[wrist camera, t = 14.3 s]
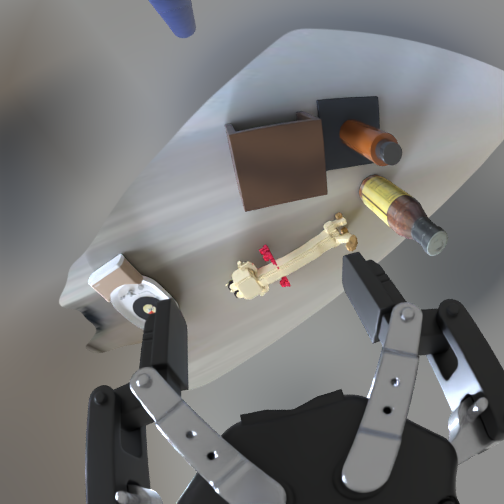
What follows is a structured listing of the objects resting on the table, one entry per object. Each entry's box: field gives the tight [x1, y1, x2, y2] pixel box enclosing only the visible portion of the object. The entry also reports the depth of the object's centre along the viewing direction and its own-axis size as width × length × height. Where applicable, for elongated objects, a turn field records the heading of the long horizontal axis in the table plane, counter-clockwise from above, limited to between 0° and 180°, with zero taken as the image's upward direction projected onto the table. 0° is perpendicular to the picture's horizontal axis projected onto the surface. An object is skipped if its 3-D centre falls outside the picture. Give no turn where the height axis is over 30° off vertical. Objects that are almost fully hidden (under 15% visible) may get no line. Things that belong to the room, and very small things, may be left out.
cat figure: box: [226, 212, 358, 300], centre depth 51 cm, size 10×9×25 cm
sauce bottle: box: [359, 175, 448, 256], centre depth 41 cm, size 6×6×20 cm
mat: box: [317, 96, 380, 171], centre depth 42 cm, size 12×11×1 cm
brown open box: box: [225, 111, 327, 212], centre depth 40 cm, size 11×12×8 cm
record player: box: [88, 254, 179, 329], centre depth 54 cm, size 12×3×20 cm
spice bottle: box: [339, 119, 402, 166], centre depth 37 cm, size 5×5×12 cm
